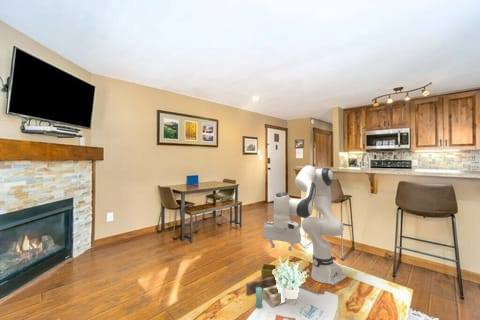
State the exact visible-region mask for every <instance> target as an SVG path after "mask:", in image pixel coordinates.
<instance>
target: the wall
mask: <svg viewBox="0 0 480 320" xmlns="http://www.w3.org/2000/svg"><path fill="white" fill-rule="evenodd" d="M275 285H276V280H275V277H274V276H272V277H268V278H264V279H262V278H261V279H258V280H252V281H250V282H246V285H245V287H246V288H245V289H246V296H251V295H256V288H257V287H261V288H262V292H263V289H264V288H267V287H271V286H275Z"/></svg>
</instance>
